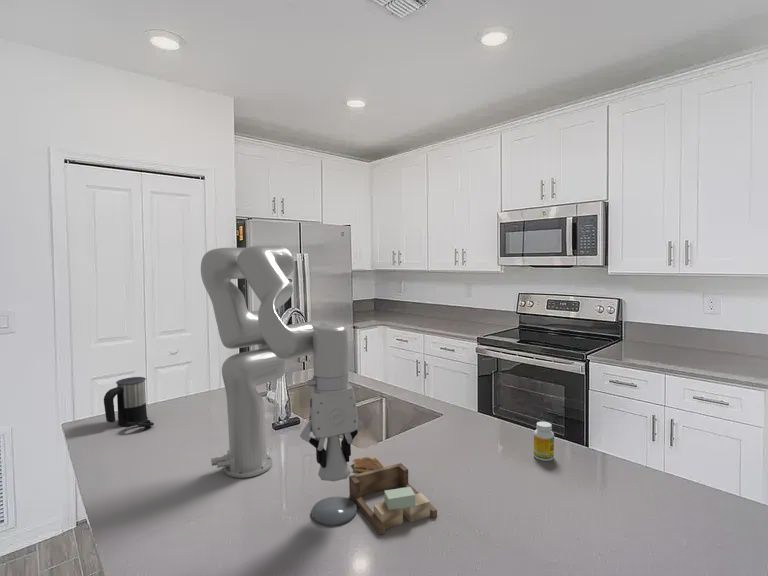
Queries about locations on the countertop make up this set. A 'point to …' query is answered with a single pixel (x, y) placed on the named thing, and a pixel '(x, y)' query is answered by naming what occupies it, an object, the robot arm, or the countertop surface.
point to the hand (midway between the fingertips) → (333, 461)
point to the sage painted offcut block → (399, 498)
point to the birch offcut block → (418, 508)
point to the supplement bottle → (544, 441)
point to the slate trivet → (334, 511)
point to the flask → (334, 462)
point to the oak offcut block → (388, 515)
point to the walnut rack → (379, 489)
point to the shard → (366, 464)
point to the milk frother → (128, 403)
